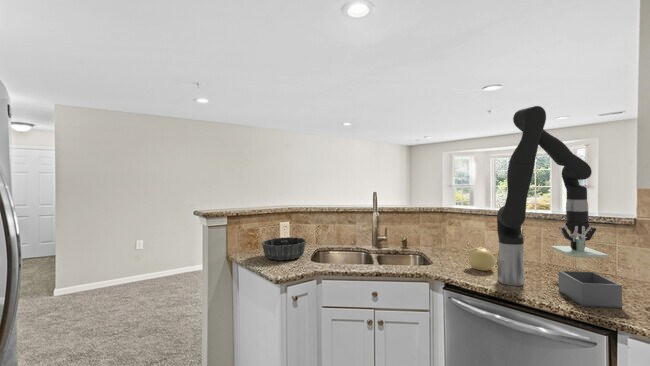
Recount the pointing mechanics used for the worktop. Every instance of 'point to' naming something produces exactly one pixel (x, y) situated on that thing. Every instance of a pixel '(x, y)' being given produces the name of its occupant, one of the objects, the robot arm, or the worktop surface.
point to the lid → (579, 250)
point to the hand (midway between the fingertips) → (577, 249)
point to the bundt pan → (284, 248)
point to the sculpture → (481, 259)
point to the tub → (590, 289)
